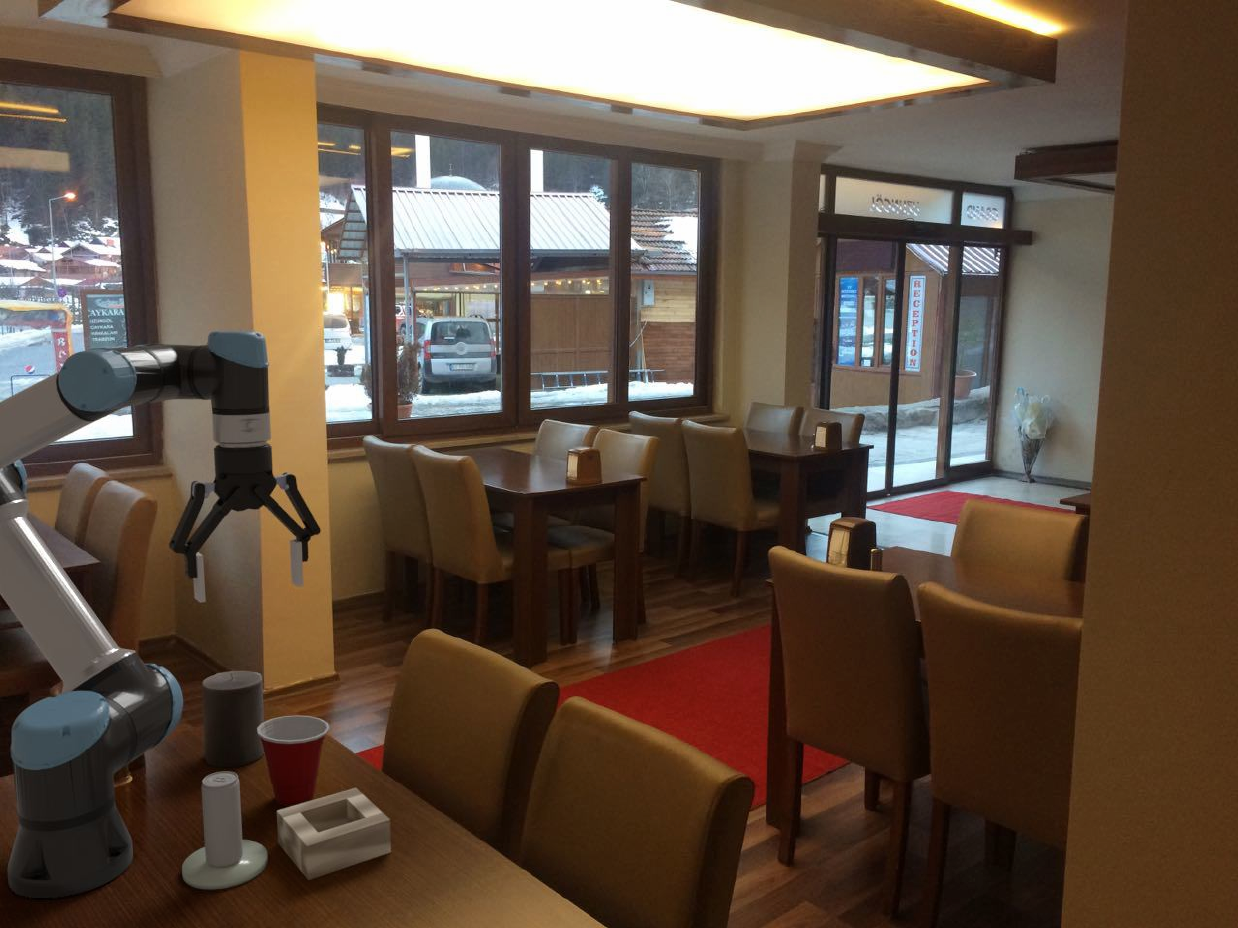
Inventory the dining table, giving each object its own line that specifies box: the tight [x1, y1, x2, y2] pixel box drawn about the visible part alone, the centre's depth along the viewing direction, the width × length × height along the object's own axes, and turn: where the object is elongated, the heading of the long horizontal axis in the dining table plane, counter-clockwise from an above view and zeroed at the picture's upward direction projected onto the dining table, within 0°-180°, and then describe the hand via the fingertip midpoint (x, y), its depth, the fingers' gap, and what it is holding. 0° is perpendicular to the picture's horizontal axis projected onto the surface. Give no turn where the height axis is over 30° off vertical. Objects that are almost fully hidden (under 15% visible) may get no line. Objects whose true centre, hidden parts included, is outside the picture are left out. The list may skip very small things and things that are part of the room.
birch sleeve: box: [276, 787, 392, 881], centre depth 146 cm, size 12×12×5 cm
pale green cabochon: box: [181, 839, 268, 890], centre depth 141 cm, size 11×11×1 cm
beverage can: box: [201, 770, 243, 868], centre depth 140 cm, size 5×5×12 cm
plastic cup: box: [257, 714, 330, 807], centre depth 160 cm, size 11×11×12 cm
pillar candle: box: [201, 670, 265, 768], centre depth 174 cm, size 10×10×15 cm
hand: (250, 592), depth 144 cm, fingers open, 13 cm apart
